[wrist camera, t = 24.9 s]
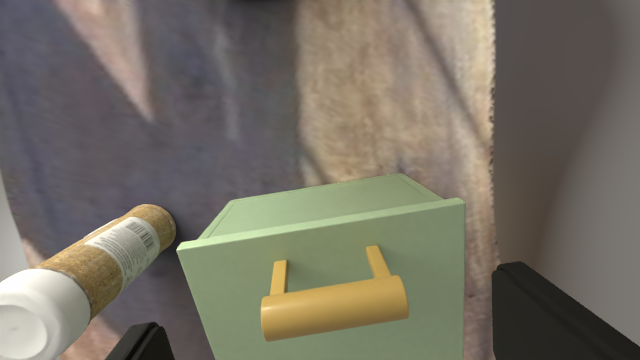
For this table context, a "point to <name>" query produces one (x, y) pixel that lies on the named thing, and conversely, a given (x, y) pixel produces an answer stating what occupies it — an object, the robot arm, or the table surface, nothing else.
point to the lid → (336, 287)
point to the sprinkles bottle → (78, 284)
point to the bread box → (318, 204)
